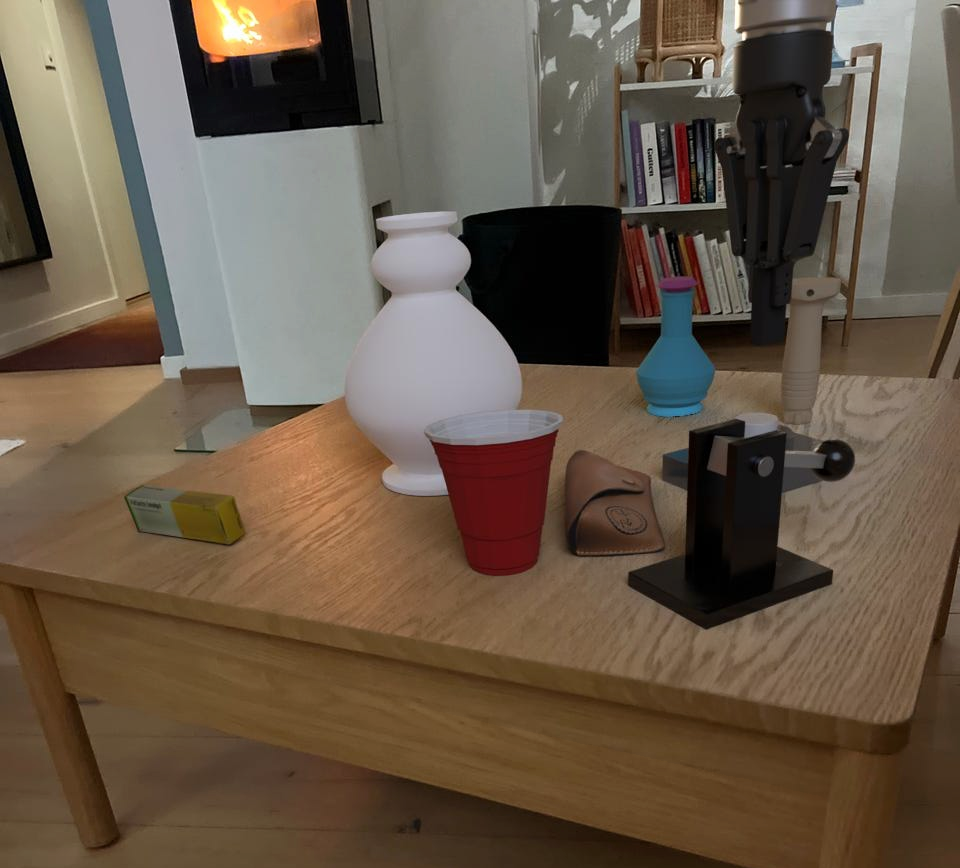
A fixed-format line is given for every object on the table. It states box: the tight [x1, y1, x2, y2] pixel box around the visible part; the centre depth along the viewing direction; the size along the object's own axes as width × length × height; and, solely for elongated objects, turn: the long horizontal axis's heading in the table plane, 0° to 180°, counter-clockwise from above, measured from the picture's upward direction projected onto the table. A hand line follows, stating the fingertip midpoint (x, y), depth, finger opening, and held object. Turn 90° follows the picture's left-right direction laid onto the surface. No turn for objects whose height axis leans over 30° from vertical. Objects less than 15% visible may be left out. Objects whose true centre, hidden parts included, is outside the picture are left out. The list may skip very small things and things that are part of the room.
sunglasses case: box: [564, 449, 666, 557], centre depth 84 cm, size 18×7×7 cm, turn 176°
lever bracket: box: [627, 418, 834, 630], centre depth 68 cm, size 12×9×12 cm
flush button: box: [733, 412, 779, 438], centre depth 88 cm, size 4×4×2 cm
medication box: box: [124, 484, 246, 545], centre depth 87 cm, size 12×3×4 cm, turn 62°
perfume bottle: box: [636, 275, 716, 418], centre depth 110 cm, size 9×9×15 cm
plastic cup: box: [424, 409, 564, 577], centre depth 75 cm, size 11×11×12 cm
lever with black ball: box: [707, 436, 856, 483], centre depth 68 cm, size 13×3×3 cm, turn 119°
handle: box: [780, 276, 842, 426], centre depth 102 cm, size 5×6×15 cm
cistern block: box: [661, 423, 824, 494], centre depth 90 cm, size 14×10×4 cm
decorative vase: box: [343, 211, 523, 497], centre depth 92 cm, size 18×18×25 cm
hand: (766, 342), depth 84 cm, fingers closed
